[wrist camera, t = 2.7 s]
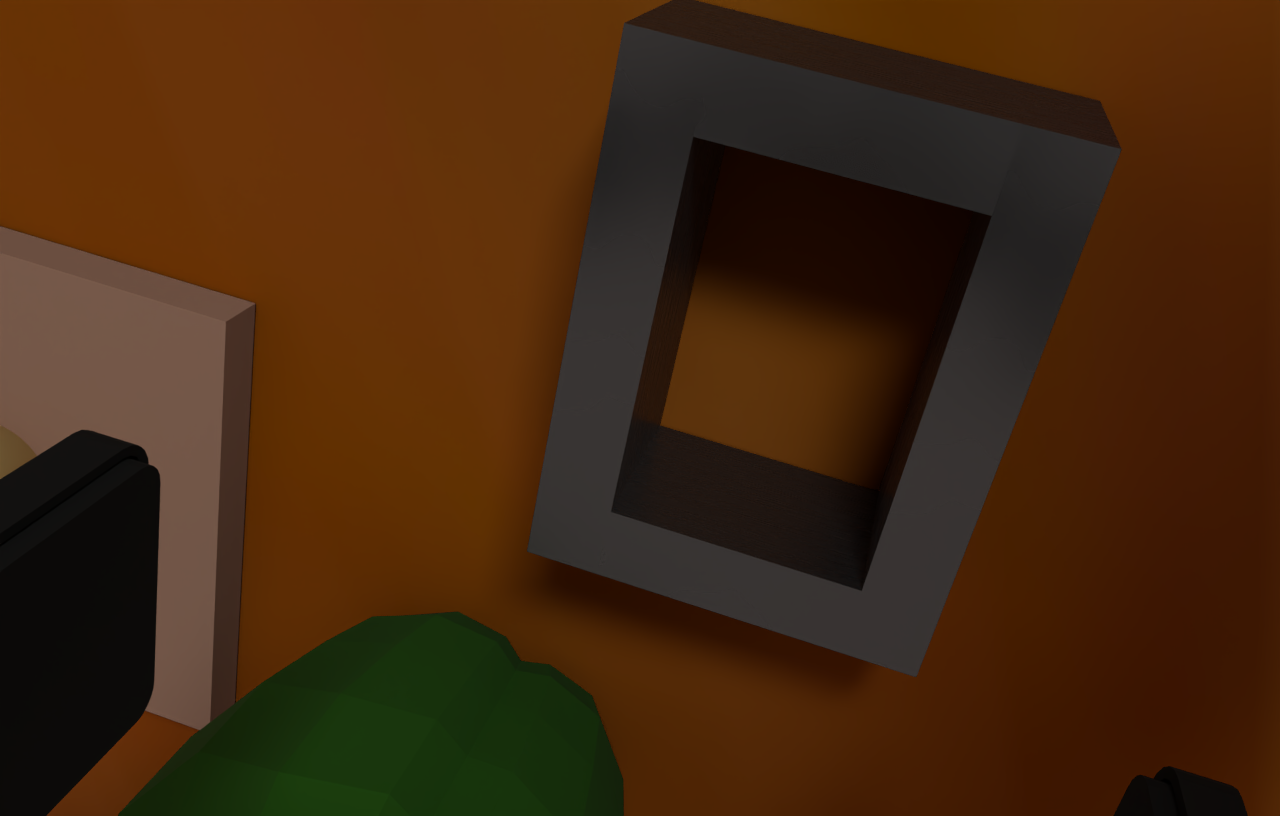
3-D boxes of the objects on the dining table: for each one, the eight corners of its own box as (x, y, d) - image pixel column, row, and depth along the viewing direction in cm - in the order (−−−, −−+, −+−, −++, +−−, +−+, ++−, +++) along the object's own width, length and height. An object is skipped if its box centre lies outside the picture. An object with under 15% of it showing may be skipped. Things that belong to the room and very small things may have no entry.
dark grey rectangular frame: (1099, 100, 17) (1121, 149, 15) (925, 568, 21) (916, 677, 18) (679, -4, 18) (624, 23, 16) (585, 462, 22) (527, 551, 19)
